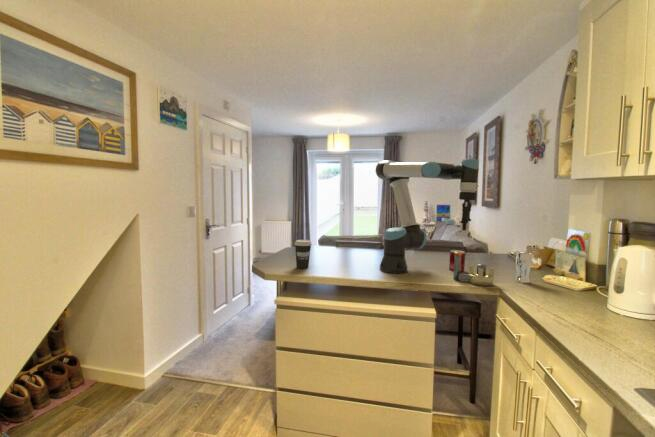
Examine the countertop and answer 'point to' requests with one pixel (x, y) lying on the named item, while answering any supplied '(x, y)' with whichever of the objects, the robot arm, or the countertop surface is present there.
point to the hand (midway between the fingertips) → (464, 235)
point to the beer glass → (523, 266)
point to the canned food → (452, 258)
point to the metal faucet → (473, 273)
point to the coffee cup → (302, 253)
